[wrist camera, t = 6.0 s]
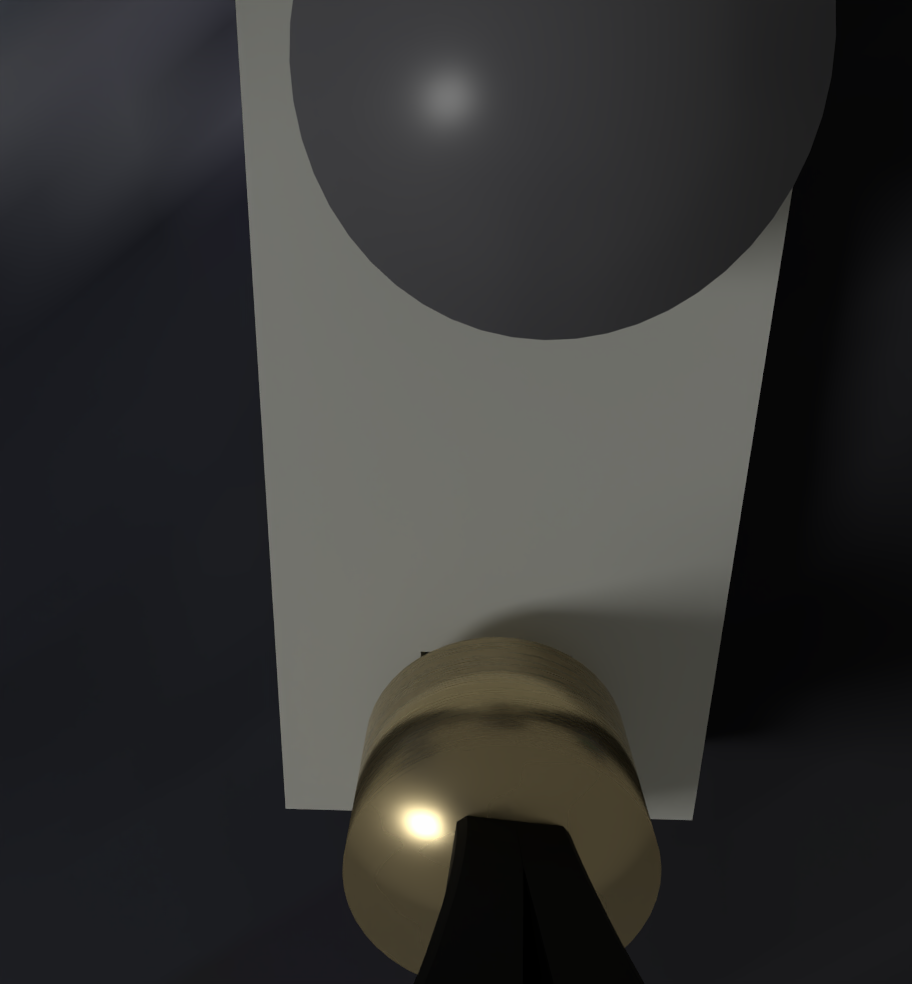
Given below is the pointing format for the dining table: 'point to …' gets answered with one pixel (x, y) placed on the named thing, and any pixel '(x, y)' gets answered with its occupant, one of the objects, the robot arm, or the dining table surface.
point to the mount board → (484, 473)
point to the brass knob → (492, 784)
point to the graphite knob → (558, 145)
